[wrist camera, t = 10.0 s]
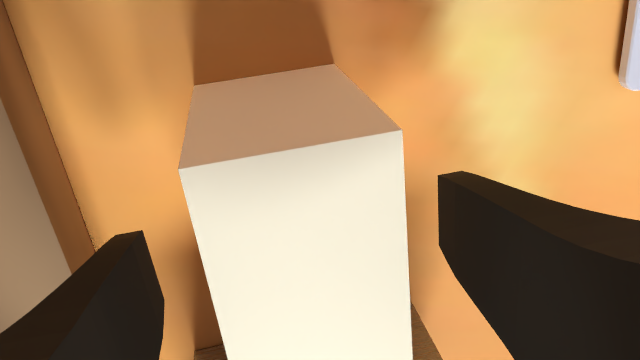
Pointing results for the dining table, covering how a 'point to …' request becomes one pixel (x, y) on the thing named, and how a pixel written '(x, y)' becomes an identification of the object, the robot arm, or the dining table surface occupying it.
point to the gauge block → (300, 216)
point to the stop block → (422, 344)
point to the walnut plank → (31, 194)
